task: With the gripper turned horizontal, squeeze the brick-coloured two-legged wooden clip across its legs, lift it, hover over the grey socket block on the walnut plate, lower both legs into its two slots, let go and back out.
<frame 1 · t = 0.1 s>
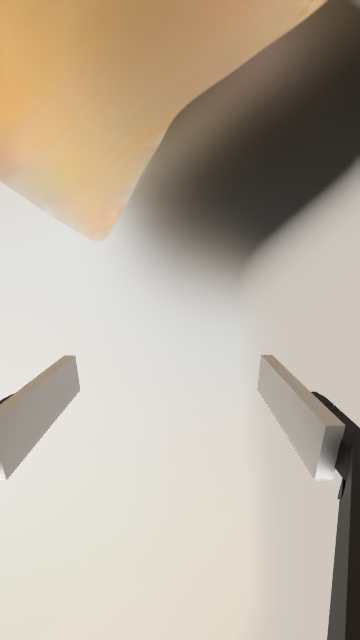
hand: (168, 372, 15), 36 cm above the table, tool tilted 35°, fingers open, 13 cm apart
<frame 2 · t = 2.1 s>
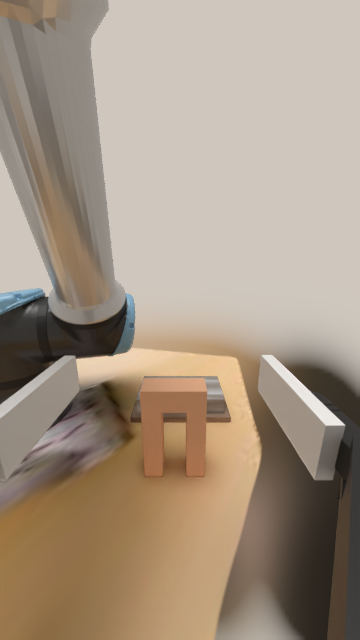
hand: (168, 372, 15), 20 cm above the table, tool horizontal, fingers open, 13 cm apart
clip: (174, 465, 29), on the table
grey socket block: (180, 404, 42), on the table
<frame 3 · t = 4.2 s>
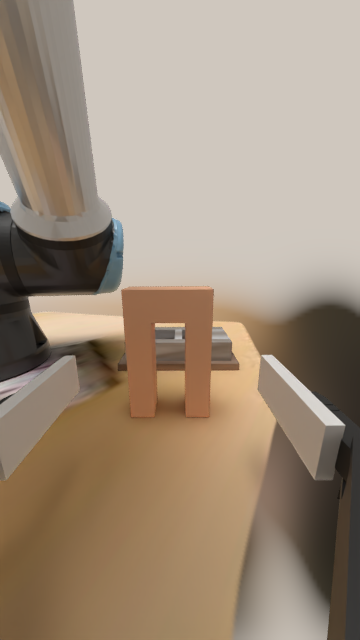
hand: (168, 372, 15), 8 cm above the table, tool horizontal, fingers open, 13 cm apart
clip: (170, 407, 22), on the table
grey socket block: (178, 356, 35), on the table
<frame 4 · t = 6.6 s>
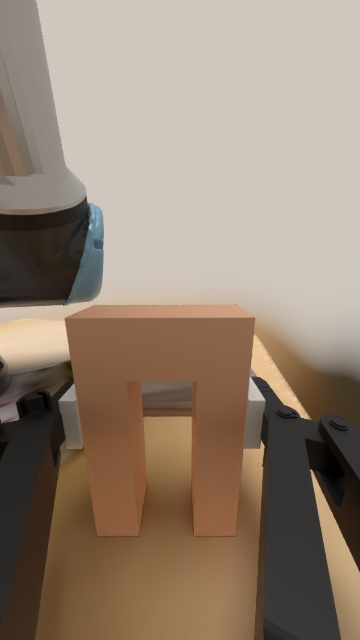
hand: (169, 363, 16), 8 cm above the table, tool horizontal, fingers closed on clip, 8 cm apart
clip: (167, 506, 13), on the table, touching gripper
grey socket block: (180, 388, 26), on the table
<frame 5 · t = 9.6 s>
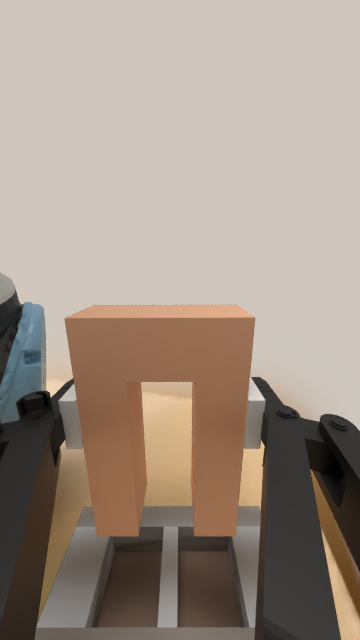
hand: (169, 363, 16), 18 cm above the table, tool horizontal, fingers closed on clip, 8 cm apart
clip: (167, 506, 13), point 10 cm above the table, touching gripper
grey socket block: (170, 603, 16), on the table
when the fingers open (9 cm above the table, at t = 13.0 s): clip stays where it is, resting on grey socket block.
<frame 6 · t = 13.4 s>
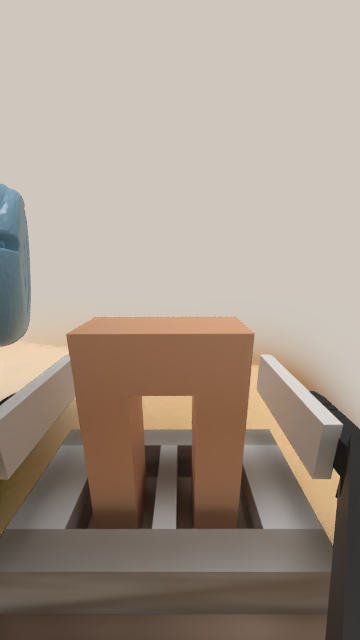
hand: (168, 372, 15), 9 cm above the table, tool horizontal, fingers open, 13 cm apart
clip: (168, 515, 13), point 1 cm above the table, touching grey socket block
grey socket block: (168, 525, 14), on the table
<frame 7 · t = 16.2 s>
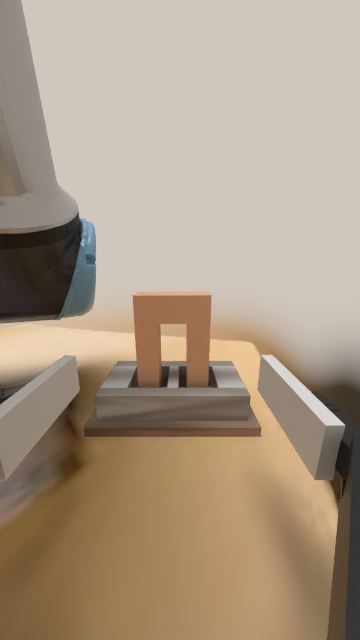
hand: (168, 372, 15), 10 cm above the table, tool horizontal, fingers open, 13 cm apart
clip: (173, 397, 26), point 1 cm above the table, touching grey socket block
grey socket block: (174, 404, 26), on the table
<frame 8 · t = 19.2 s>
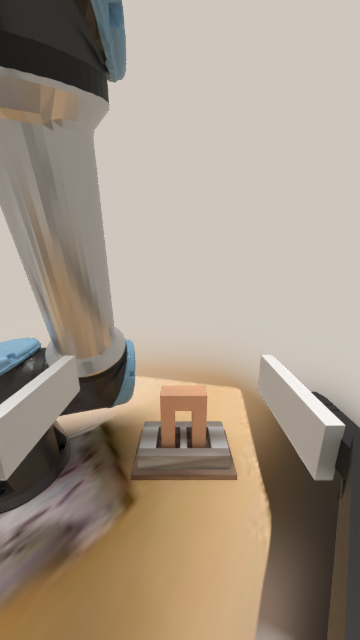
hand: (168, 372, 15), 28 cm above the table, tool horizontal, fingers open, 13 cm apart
clip: (183, 449, 40), point 1 cm above the table, touching grey socket block
grey socket block: (183, 453, 40), on the table
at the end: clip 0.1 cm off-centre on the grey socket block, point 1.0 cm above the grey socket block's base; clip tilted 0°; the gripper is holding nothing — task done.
